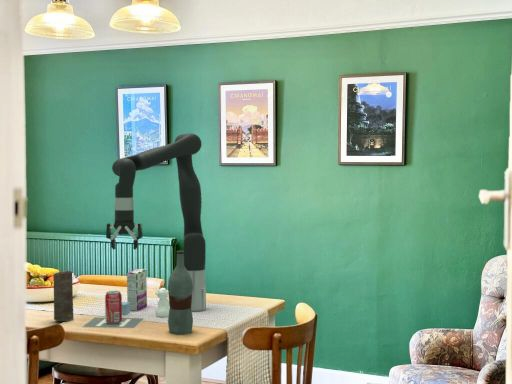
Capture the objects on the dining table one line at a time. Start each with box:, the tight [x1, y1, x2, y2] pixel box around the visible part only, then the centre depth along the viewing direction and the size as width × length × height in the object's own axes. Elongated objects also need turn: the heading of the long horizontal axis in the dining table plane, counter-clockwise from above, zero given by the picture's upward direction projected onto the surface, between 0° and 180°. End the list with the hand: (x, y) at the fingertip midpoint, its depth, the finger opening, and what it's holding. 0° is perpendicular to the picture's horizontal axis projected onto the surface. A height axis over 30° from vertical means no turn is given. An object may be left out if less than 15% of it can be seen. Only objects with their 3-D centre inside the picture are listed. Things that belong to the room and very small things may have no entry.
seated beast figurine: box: [154, 287, 170, 318], centre depth 269 cm, size 10×9×12 cm
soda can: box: [104, 290, 123, 324], centre depth 256 cm, size 6×6×12 cm
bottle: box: [167, 250, 194, 335], centre depth 244 cm, size 9×9×30 cm
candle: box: [52, 270, 74, 322], centre depth 261 cm, size 8×7×20 cm
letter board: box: [82, 317, 145, 329], centre depth 257 cm, size 20×16×1 cm
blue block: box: [122, 301, 131, 316], centre depth 273 cm, size 5×5×5 cm
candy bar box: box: [126, 268, 148, 312], centre depth 285 cm, size 11×5×16 cm, turn 168°
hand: (124, 249), depth 265 cm, fingers open, 8 cm apart
